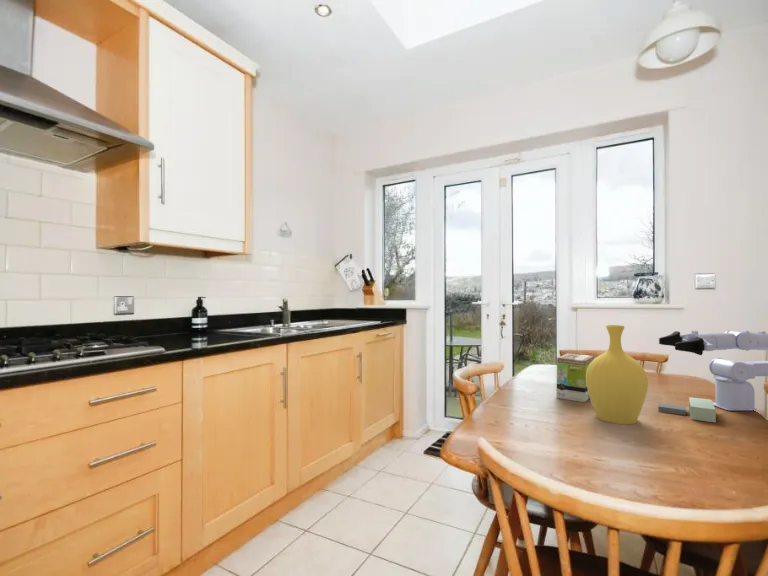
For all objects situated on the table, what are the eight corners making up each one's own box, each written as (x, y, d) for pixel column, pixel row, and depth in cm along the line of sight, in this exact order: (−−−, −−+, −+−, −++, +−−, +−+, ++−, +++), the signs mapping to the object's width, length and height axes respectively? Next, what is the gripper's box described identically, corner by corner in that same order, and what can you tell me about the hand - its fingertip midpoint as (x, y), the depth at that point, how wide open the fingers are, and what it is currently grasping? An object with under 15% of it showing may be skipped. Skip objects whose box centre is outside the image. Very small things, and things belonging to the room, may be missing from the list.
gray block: (658, 412, 126) (658, 406, 126) (658, 408, 130) (658, 402, 130) (686, 416, 121) (685, 410, 121) (685, 412, 125) (685, 406, 125)
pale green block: (690, 419, 118) (690, 406, 118) (689, 408, 128) (688, 397, 128) (715, 422, 114) (715, 409, 114) (711, 411, 125) (711, 399, 125)
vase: (659, 429, 109) (657, 328, 109) (595, 425, 112) (594, 327, 112) (634, 412, 124) (633, 324, 125) (579, 409, 128) (578, 323, 128)
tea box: (586, 403, 135) (586, 360, 135) (555, 398, 141) (555, 357, 141) (594, 394, 147) (594, 354, 147) (565, 390, 153) (565, 352, 153)
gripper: (693, 325, 137) (653, 327, 137) (728, 334, 122) (683, 336, 123) (692, 345, 137) (653, 347, 138) (727, 356, 123) (683, 358, 124)
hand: (667, 343), depth 131 cm, fingers open, 7 cm apart
